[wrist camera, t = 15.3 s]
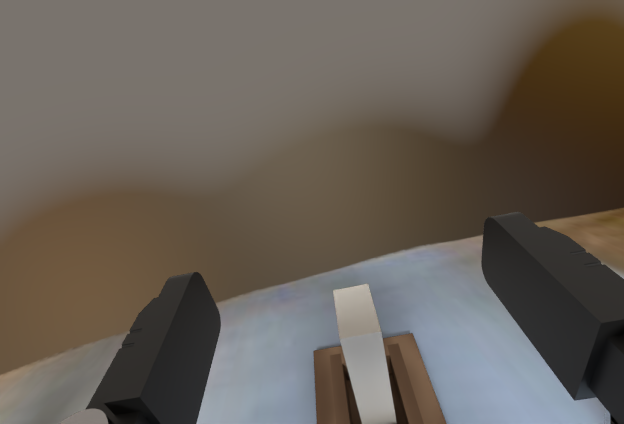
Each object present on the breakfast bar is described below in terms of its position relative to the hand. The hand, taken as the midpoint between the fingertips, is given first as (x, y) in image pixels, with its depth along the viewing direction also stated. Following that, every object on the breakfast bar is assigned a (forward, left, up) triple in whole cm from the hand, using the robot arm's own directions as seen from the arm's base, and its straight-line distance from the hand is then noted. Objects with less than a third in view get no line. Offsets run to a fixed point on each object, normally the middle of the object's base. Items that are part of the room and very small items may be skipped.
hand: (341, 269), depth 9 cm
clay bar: (0, +11, -27) cm, 29 cm away
